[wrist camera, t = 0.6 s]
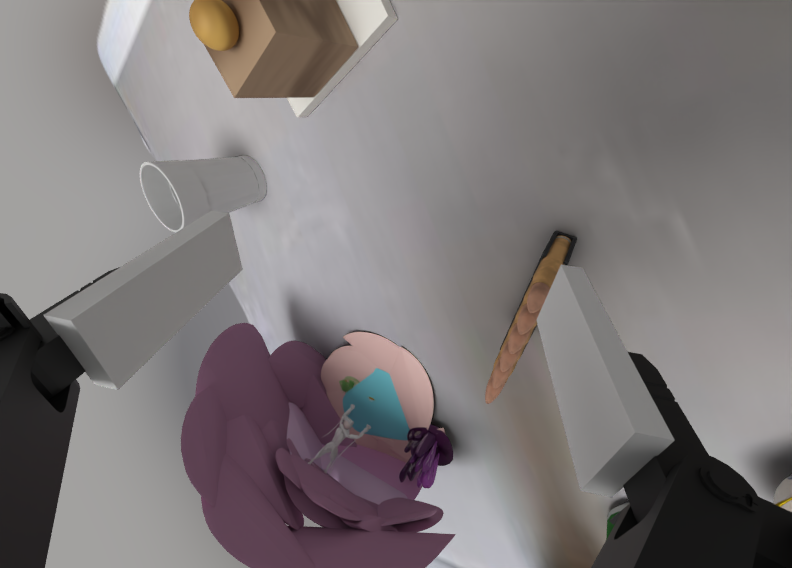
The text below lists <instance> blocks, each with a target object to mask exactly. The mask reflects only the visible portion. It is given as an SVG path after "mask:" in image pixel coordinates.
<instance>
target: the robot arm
mask: <svg viewBox="0 0 792 568" xmlns="http://www.w3.org/2000/svg"><path fill="white" fill-rule="evenodd" d="M241 270H242V265H241V261H240V257H239V252H238V248H237V244H236V240H235V236H234V231H233V227H232V223H231V219H230V215H229V213H225V212H219V211H210V212H208V213H207V214H205V215H204V216H202V217H200V218H199V219H197V220H195V221H194V222H192V223H191V224H189V225H187V226H186V227H184V228H183V229H181V230H179V231H178V232H176V233H175V234H173V235H171V236H170V237H168V238H167V239H165V240H163V241H162V242H160V243H158V244H157V245H155V246H154V247H152V248H150V249H149V250H147V251H146V252H144V253H142V254H141V255H139V256H138V257H136V258H134V259H133V260H131V261H130V262H128V263H126V264H125V265H123V266H121V267H119V268H116V269H114V270H111V271H108V272H107V273H105V274H104V275H102V276H100V277H99V278H97V279H95V280H94V281H93V283H89V284H88V285H86V286H84V287H82V288H81V290H80V291H76V292H74V293H73V294H71V295H69V296H68V297H66V298H64V299H63V300H61V301H59V302H58V303H56V304H54V305H53V306H51V307H50V308H48V309H46V310H45V311H43V312H42V313H40V314H38V315H37V316H35V317H33V318H32V319H30V320H29V319H28V318H27V316H26V315H25V314H24V313H23V311H22V310H21V309H20V308H19V306H18V305H17V304H16V302H15V301H14V300H13V298H12V297H10V296H9V295H7V294H1V293H0V568H45V564H46V558H47V553H48V548H49V543H50V538H51V533H52V528H53V523H54V518H55V513H56V508H57V503H58V497H59V493H60V488H61V483H62V477H63V472H64V468H65V463H66V457H67V452H68V447H69V442H70V437H71V432H72V427H73V422H74V417H75V412H76V407H77V402H78V397H79V392H80V386H79V383H78V382H77V380H76V379H77V378H78V377H79V376H80V375H82V374H83V373H84V372H86V373H87V375H88V376H89V377H90V379H91V380H92V382H93V383H94V384H95V385H99V386H103V387H107V388H113V389H117V390H118V389H120V387H122V386H123V385H124V384H125V383H126V382H127V381H128V380H129V379H130V378H131V377H132V376H133V375H134V374H135V373H136V372H137V371H138V370H139V369H140V368H141V367H142V366H143V365H144V364H145V363H146V362H147V361H148V360H149V359H150V358H152V356H154V355H155V354H156V353H157V352H158V351H159V350H160V349H161V348H162V347H163V346H164V345H165V344H166V343H167V342H168V341H169V340H170V339H171V338H172V337H173V336H174V335H175V334H176V333H177V332H178V331H179V330H180V329H181V328H183V327H184V326H185V325H186V324H187V323H188V322H189V321H190V319H192V318H193V317H194V316H195V315H196V314H197V313H198V312H199V311H200V310H201V309H202V308H203V307H204V306H205V305H206V304H207V303H208V302H209V301H210V300H211V299H212V298H213V297H215V296H216V295H217V293H219V292H220V291H221V290H222V289H223V288H224V287H225V286H226V285H227V284H228V283H229V282H230V281H231V280H232V279H233V278H234V277H235V276H236V275H237V274H238V273H239V272H240V271H241ZM537 324H538V328H539V332H540V336H541V340H542V344H543V347H544V351H545V355H546V359H547V363H548V367H549V371H550V375H551V378H552V382H553V386H554V390H555V394H556V398H557V402H558V406H559V409H560V413H561V417H562V421H563V425H564V429H565V433H566V437H567V440H568V444H569V448H570V452H571V456H572V460H573V464H574V467H575V471H576V475H577V479H578V483H579V487H580V491H584V492H589V493H593V494H598V495H603V496H607V497H613V496H614V495H615V494H616V493H617V492H618V491H620V490H621V489H622V488H623V487H624V489H625V492H626V495H627V497H628V500H629V503H630V504H628V505H627V506H626V507H625V508H623V509H622V510H621V511H620V512H619V513H617V514H616V515H615V516H614V517H613V518H612V519H610V520H609V521H610V522H611V523H612V524H613V525H614V524H615V525H614V527H613V529H612V531H611V533H610V534H609V536H608V538H607V540H606V542H605V544H604V545H603V547H602V549H601V551H600V553H599V555H598V556H597V558H596V560H595V562H594V564H593V566H592V567H591V568H792V512H790V511H788V510H786V509H784V508H782V507H779V506H777V505H775V504H773V503H771V502H769V501H766V500H764V499H762V498H760V497H758V496H757V494H756V492H755V490H754V489H753V488H752V487H751V486H750V485H749V484H748V482H747V481H746V480H745V479H744V478H743V477H742V476H741V475H740V474H738V473H737V472H736V471H735V470H733V469H732V468H731V467H730V466H728V465H727V464H725V463H723V462H721V461H719V460H717V459H716V458H714V457H711V456H709V455H708V453H707V451H706V450H705V448H704V446H703V445H702V443H701V441H700V440H699V438H698V436H697V435H696V433H695V431H694V430H693V428H692V426H691V425H690V423H689V421H688V420H687V418H686V416H685V415H684V413H683V411H682V410H681V408H680V406H679V405H678V403H677V402H675V398H674V396H673V395H672V393H671V391H670V390H669V389H668V388H667V385H666V383H665V381H664V380H663V378H662V376H661V375H660V373H659V371H658V370H657V369H656V368H655V367H654V366H653V365H652V364H651V363H650V362H649V361H648V360H647V359H646V358H645V357H644V356H643V355H642V354H636V353H631V352H627V350H626V348H625V346H624V344H623V343H622V341H621V339H620V337H619V335H618V333H617V331H616V329H615V328H614V326H613V324H612V322H611V320H610V318H609V316H608V315H607V313H606V311H605V309H604V307H603V305H602V303H601V301H600V300H599V298H598V296H597V294H596V292H595V290H594V288H593V286H592V285H591V283H590V281H589V279H588V277H587V275H586V273H585V271H584V270H583V268H580V267H574V266H567V265H561V266H560V268H559V270H558V272H557V275H556V277H555V279H554V281H553V284H552V286H551V288H550V290H549V293H548V295H547V297H546V299H545V302H544V304H543V306H542V308H541V311H540V313H539V315H538V317H537Z"/></svg>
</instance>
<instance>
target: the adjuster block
mask: <svg viewBox="0 0 792 568" xmlns="http://www.w3.org/2000/svg"><path fill="white" fill-rule="evenodd" d="M189 18H190V23H191V26H192V29H193V31H194V33H195V34H196V36H197V37H198V38H199V40H200V41H201V42H202V43H204V45H205V47H206V49H207V50H208V52H209V54H210V56H211V58H212V59H213V61H214V63H215V65H216V66H217V68H218V70H219V72H220V73H221V75H222V77H223V79H224V81H225V82H226V84H227V86H228V88H229V89H230V91H231V93H232V95H233V96H234V98H311V97H315V96H316V95H317V93H318V92H319V91H320V90H321V89H322V88H323V87H324V86H325V84H326V83H327V82H328V81H329V80H330V79H331V78H332V76H333V75H334V74H335V73H336V72H337V71H338V70H339V69H340V67H341V66H342V65H343V64H344V63H345V62H346V61H347V60H348V58H349V57H350V56H351V55H352V54H353V53H354V52H355V51H356V49H357V48H358V45H357V43H356V41H355V39H354V37H353V35H352V33H351V31H350V29H349V26H348V24H347V22H346V20H345V18H344V16H343V14H342V12H341V10H340V8H339V6H338V4H337V2H336V0H194V2H193V3H192V5H191V7H190V12H189Z"/></svg>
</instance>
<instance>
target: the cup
mask: <svg viewBox="0 0 792 568" xmlns="http://www.w3.org/2000/svg"><path fill="white" fill-rule="evenodd" d="M140 182H141V186H142V190H143V193H144V196H145V198H146V200H147V202H148V204H149V206H150V208H151V210H152V211H153V213H154V214H155V216H156V217H157V218H158V220H159V221H160V222H161V223H162V224H163V225H164V226H165V227H166V228H167V229H169V230H171V231H172V232H178V231H179V230H181V229H183V228H184V227H186V226H187V225H189V224H191V223H192V222H194V221H195V220H197V219H199V218H200V217H202V216H204V215H205V214H207V213H208V212H210V211H219V212H225V213H229V212H232V211H234V210H237V209H240V208H242V207H245V206H247V205H250V204H253V203H256V202H259V201H262V200H263V199H264V198H265V196H266V191H267V185H266V180H265V176H264V174H263V171H262V169H261V168H260V166H259V165H258V163H257V162H256V161H255V160H254V159H253V158H251V157H249V156H247V155H243V156H236V157H230V158H215V159H200V160H186V161H178V160H175V161H155V162H145V163H143V164H142V165H141V167H140Z"/></svg>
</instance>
